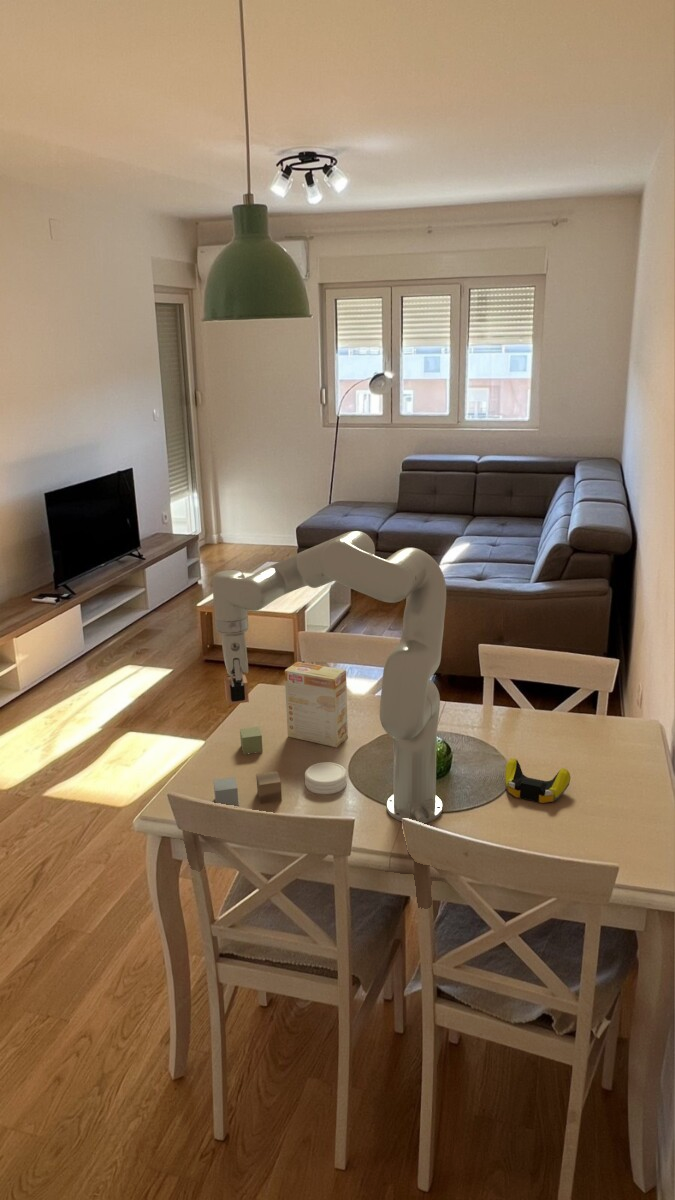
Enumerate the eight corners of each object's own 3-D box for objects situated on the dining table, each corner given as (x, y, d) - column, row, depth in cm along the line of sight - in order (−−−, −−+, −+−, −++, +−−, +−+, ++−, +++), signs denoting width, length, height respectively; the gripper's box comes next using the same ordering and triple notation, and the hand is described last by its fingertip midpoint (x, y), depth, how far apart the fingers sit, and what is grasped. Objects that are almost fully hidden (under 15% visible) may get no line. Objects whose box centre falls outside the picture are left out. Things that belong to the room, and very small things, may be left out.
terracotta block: (248, 702, 196) (247, 682, 194) (227, 704, 195) (226, 685, 193) (246, 693, 200) (244, 674, 199) (225, 695, 199) (224, 676, 198)
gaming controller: (507, 775, 201) (496, 795, 192) (508, 754, 199) (497, 774, 190) (570, 788, 194) (561, 809, 186) (572, 767, 193) (563, 788, 184)
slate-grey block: (238, 807, 190) (237, 788, 188) (216, 810, 189) (215, 791, 187) (236, 795, 195) (235, 777, 193) (215, 798, 194) (213, 780, 192)
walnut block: (281, 800, 192) (280, 781, 190) (260, 803, 191) (259, 784, 189) (278, 789, 197) (277, 771, 195) (257, 792, 196) (256, 774, 194)
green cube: (262, 752, 214) (261, 735, 213) (243, 755, 213) (242, 737, 211) (259, 743, 219) (258, 726, 217) (241, 746, 218) (239, 729, 216)
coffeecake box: (348, 736, 221) (347, 669, 215) (336, 748, 215) (334, 679, 209) (300, 726, 228) (297, 660, 222) (286, 737, 222) (283, 669, 216)
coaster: (354, 780, 200) (354, 767, 199) (332, 800, 192) (331, 786, 191) (320, 770, 205) (320, 757, 204) (297, 788, 197) (296, 775, 196)
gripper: (252, 634, 184) (257, 708, 190) (243, 610, 200) (248, 680, 206) (219, 638, 183) (224, 712, 189) (212, 613, 199) (217, 683, 204)
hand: (236, 694), depth 197 cm, fingers closed on terracotta block, 4 cm apart
